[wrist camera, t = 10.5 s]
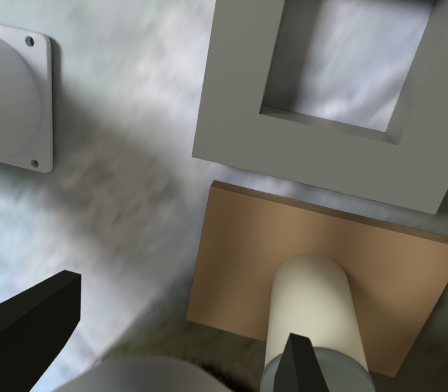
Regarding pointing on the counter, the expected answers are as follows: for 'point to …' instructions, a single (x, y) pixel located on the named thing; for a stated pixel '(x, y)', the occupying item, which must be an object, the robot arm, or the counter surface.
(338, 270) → the cartridge
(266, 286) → the board
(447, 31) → the housing
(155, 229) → the counter surface
